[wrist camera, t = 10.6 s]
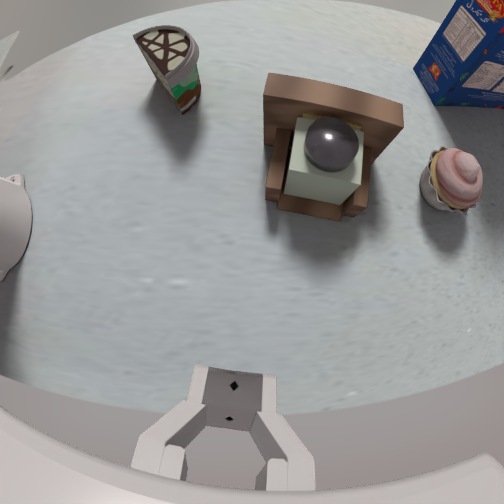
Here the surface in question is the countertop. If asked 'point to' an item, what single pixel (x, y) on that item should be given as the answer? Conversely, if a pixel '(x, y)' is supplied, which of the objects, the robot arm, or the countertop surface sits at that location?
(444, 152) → the cupcake
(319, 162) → the sliding knob
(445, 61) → the pasta box
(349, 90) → the walnut mount
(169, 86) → the food container
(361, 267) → the countertop surface
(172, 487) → the robot arm
